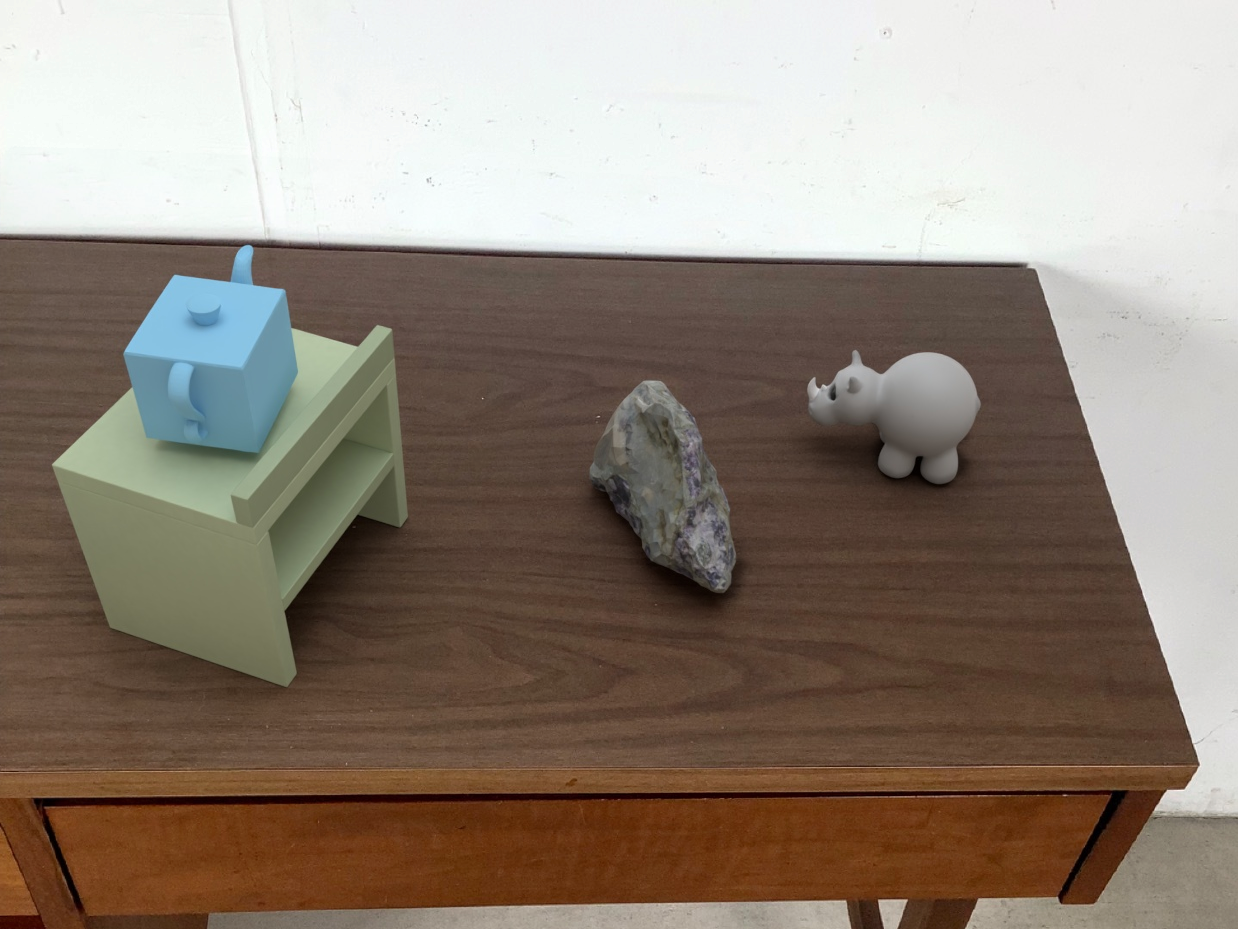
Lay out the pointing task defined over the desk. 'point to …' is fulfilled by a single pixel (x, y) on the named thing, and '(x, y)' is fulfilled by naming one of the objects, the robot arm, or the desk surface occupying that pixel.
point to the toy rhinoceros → (904, 410)
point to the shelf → (237, 508)
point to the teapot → (213, 360)
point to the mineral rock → (666, 486)
